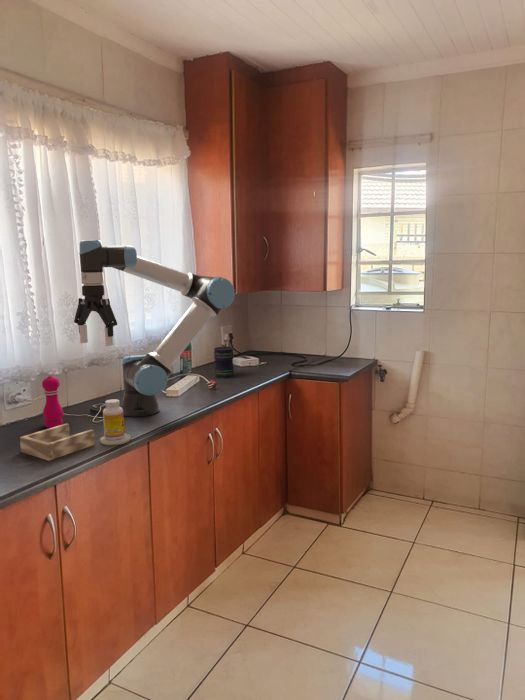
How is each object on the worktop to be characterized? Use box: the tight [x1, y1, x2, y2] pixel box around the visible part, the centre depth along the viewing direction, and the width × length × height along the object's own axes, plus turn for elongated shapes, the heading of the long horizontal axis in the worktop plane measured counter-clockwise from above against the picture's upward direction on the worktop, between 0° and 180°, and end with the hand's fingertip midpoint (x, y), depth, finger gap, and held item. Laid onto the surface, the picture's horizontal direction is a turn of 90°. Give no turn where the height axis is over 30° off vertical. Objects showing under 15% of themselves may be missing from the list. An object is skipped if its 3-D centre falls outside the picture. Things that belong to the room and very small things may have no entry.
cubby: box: [19, 423, 96, 462], centre depth 181 cm, size 18×14×5 cm
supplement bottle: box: [102, 398, 126, 440], centre depth 187 cm, size 7×7×13 cm
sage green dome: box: [99, 433, 132, 446], centre depth 188 cm, size 10×10×1 cm
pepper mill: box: [41, 372, 64, 429], centre depth 205 cm, size 7×7×20 cm
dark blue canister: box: [213, 346, 234, 380], centre depth 287 cm, size 10×10×15 cm
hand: (96, 344), depth 199 cm, fingers open, 13 cm apart
